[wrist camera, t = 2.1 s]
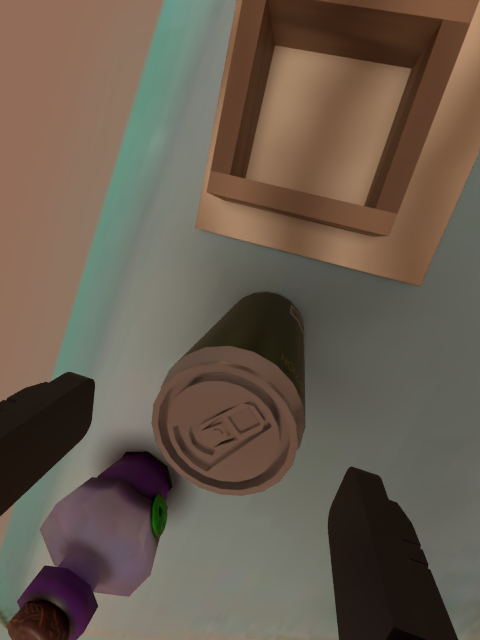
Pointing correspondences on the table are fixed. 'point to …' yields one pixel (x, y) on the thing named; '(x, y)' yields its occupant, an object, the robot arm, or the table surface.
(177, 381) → the beer can
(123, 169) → the table surface
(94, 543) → the potion bottle
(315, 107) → the can caddy
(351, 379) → the table surface
